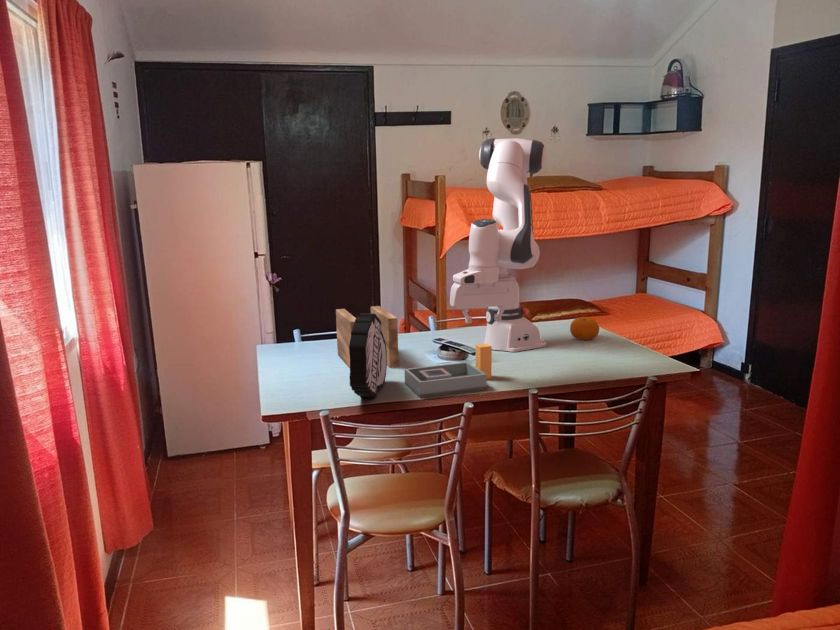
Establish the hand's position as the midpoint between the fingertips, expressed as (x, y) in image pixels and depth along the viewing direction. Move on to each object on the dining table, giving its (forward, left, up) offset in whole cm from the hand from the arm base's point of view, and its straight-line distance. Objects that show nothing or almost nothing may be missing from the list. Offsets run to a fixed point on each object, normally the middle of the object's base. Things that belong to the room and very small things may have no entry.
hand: (483, 321), depth 199 cm
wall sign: (+36, +3, -18) cm, 40 cm away
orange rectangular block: (0, 0, -17) cm, 17 cm away
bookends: (+28, -32, -17) cm, 46 cm away
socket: (+17, +4, -17) cm, 24 cm away
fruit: (-54, -30, -18) cm, 64 cm away
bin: (+14, +4, -17) cm, 22 cm away
